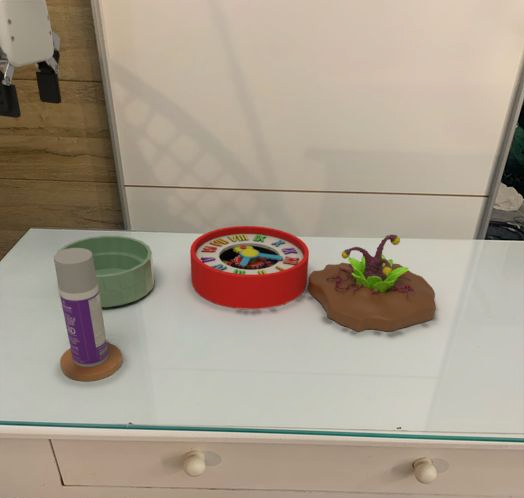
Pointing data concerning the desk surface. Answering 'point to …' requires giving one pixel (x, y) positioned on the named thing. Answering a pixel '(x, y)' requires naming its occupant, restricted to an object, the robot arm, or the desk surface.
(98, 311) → the container
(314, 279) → the plant
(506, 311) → the desk surface
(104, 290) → the bowl
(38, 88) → the robot arm
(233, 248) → the toy clock
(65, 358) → the coaster
